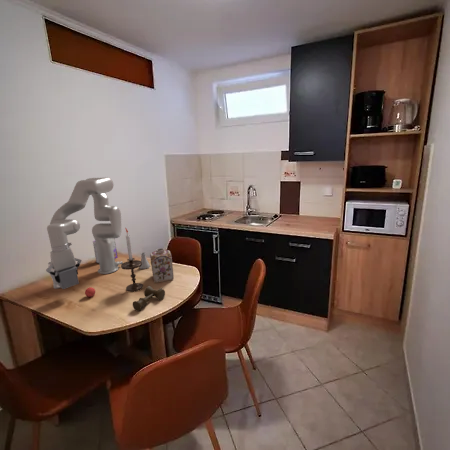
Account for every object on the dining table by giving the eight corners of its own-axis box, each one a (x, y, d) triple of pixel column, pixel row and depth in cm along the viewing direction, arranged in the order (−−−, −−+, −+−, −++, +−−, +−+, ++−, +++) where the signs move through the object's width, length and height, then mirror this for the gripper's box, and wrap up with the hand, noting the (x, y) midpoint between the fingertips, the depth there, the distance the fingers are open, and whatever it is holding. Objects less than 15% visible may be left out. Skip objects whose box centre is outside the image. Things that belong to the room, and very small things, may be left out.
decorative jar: (171, 272, 172) (168, 245, 168) (174, 279, 162) (171, 250, 157) (152, 275, 169) (148, 247, 165) (153, 283, 158) (150, 253, 154)
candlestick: (120, 289, 152) (111, 228, 144) (137, 282, 161) (129, 224, 152) (132, 294, 146) (123, 231, 138) (148, 286, 154) (141, 226, 146)
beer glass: (60, 289, 156) (55, 264, 152) (49, 288, 157) (44, 264, 154) (69, 283, 163) (64, 260, 159) (59, 283, 164) (54, 259, 161)
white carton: (113, 256, 207) (110, 235, 203) (118, 257, 203) (114, 236, 199) (96, 262, 196) (92, 240, 192) (100, 264, 192) (96, 241, 188)
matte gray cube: (73, 279, 149) (70, 264, 147) (79, 283, 144) (75, 268, 142) (58, 284, 144) (54, 269, 142) (63, 289, 139) (59, 273, 137)
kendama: (128, 310, 132) (156, 290, 149) (144, 314, 128) (170, 294, 145) (127, 299, 130) (154, 280, 147) (142, 303, 126) (169, 284, 143)
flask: (140, 265, 186) (138, 251, 184) (151, 264, 187) (149, 250, 184) (138, 269, 179) (136, 255, 177) (149, 269, 180) (147, 254, 177)
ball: (93, 293, 149) (92, 284, 148) (97, 295, 146) (96, 287, 145) (84, 296, 146) (82, 288, 145) (88, 299, 143) (86, 290, 141)
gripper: (75, 241, 147) (82, 271, 152) (38, 251, 135) (46, 283, 140) (81, 244, 142) (87, 275, 147) (42, 254, 130) (50, 287, 135)
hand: (67, 278), depth 143 cm, fingers closed on matte gray cube, 7 cm apart
